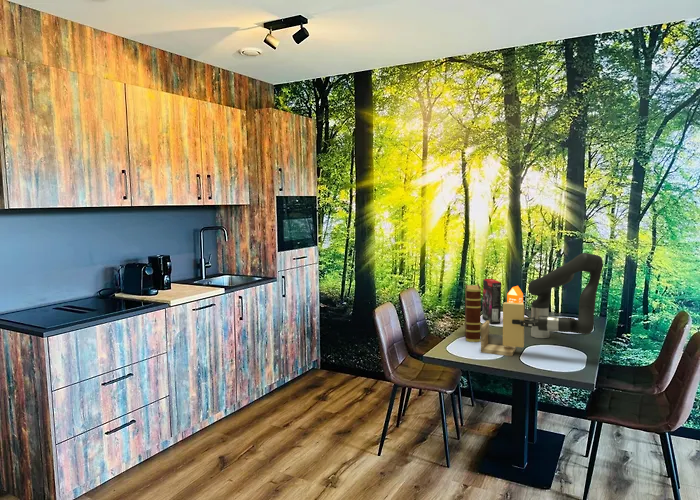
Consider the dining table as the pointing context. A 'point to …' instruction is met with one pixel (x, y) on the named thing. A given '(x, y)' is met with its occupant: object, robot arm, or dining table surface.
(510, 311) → the book
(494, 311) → the graphics card box
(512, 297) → the orange juice
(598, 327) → the dining table surface
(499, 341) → the grey flat panel
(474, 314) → the decorative book
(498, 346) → the wooden l-shaped piece
